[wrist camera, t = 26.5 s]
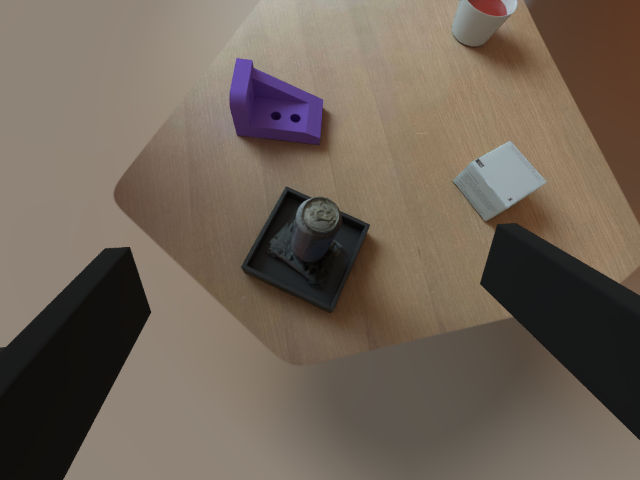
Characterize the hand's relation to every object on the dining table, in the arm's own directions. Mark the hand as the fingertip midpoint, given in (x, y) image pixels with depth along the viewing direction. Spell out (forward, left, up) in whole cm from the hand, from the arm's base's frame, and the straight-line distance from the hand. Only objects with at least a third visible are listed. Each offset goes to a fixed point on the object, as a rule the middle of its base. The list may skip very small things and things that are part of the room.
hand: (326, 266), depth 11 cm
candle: (+6, +58, -28) cm, 65 cm away
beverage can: (-3, +8, -27) cm, 28 cm away
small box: (+17, +28, -28) cm, 43 cm away
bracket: (-15, +25, -28) cm, 40 cm away
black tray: (-3, +8, -28) cm, 29 cm away
